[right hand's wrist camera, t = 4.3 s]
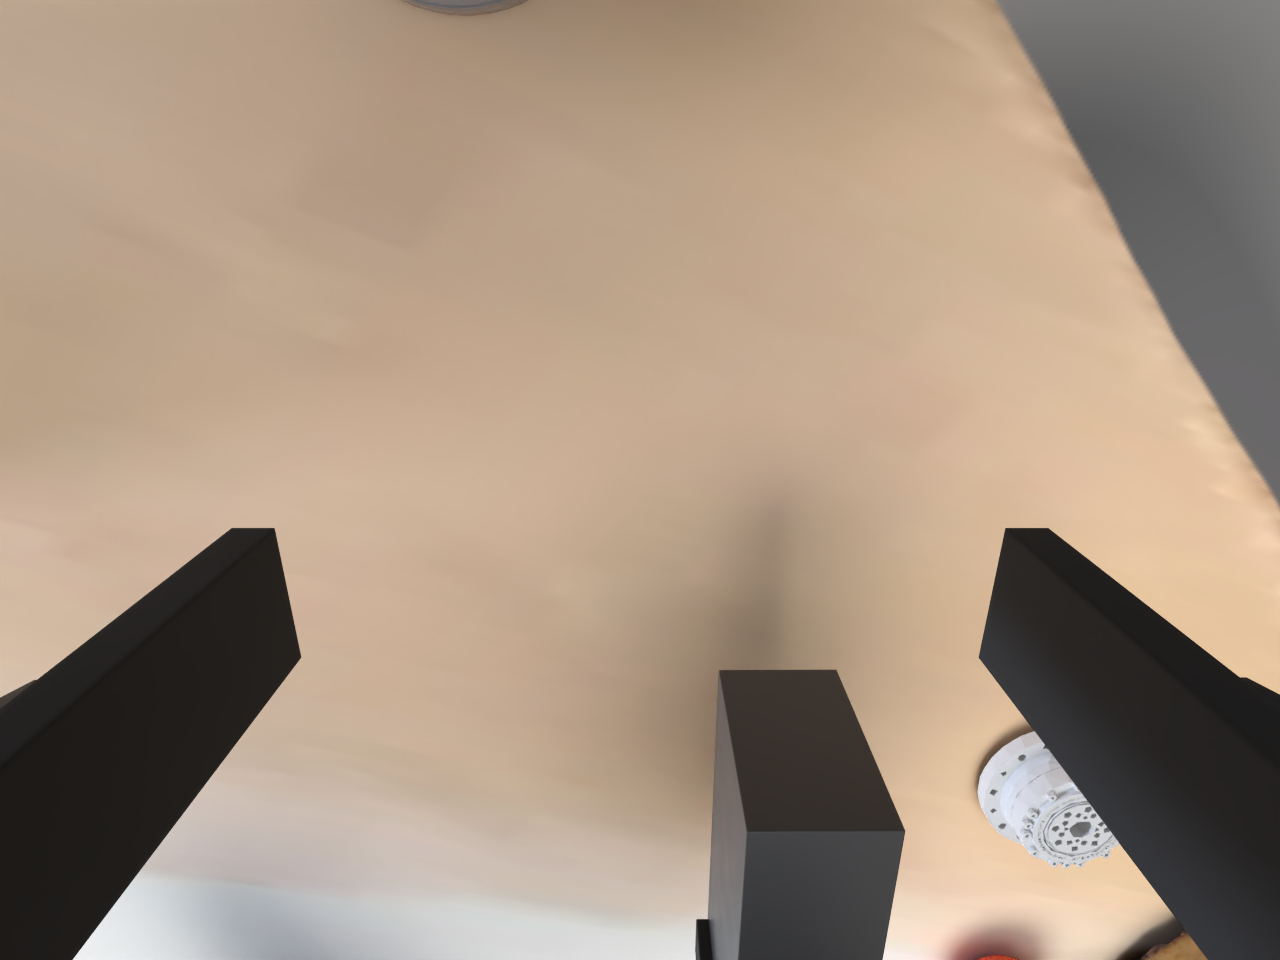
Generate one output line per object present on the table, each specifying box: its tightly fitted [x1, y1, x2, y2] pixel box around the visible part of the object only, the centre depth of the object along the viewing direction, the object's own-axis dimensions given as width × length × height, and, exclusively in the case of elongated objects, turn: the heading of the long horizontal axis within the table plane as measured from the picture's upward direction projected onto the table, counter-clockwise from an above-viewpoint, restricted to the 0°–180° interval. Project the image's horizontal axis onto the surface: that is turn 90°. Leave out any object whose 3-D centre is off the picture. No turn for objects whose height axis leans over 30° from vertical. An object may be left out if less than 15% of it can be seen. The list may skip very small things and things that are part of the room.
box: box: [708, 670, 905, 960], centre depth 36 cm, size 22×6×10 cm, turn 0°
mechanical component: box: [977, 731, 1119, 868], centre depth 48 cm, size 10×4×10 cm
